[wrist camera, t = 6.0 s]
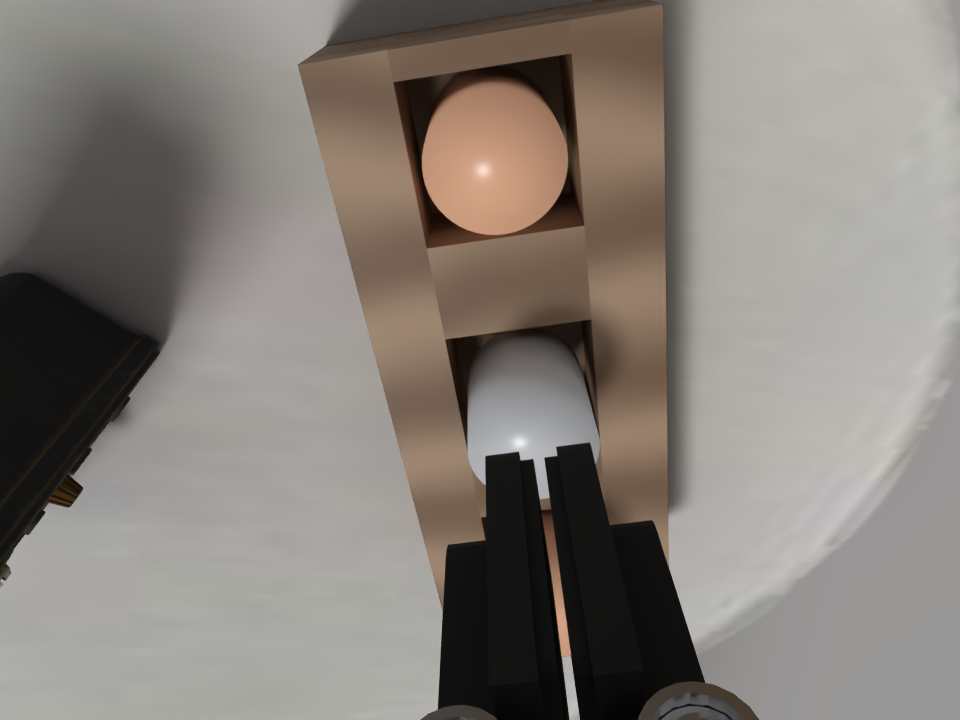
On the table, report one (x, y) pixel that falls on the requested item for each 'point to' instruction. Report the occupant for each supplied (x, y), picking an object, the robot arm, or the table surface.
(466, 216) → the button
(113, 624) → the table surface
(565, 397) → the button middle
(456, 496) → the wooden candle holder
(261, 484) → the table surface
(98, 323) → the voltmeter
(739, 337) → the table surface
